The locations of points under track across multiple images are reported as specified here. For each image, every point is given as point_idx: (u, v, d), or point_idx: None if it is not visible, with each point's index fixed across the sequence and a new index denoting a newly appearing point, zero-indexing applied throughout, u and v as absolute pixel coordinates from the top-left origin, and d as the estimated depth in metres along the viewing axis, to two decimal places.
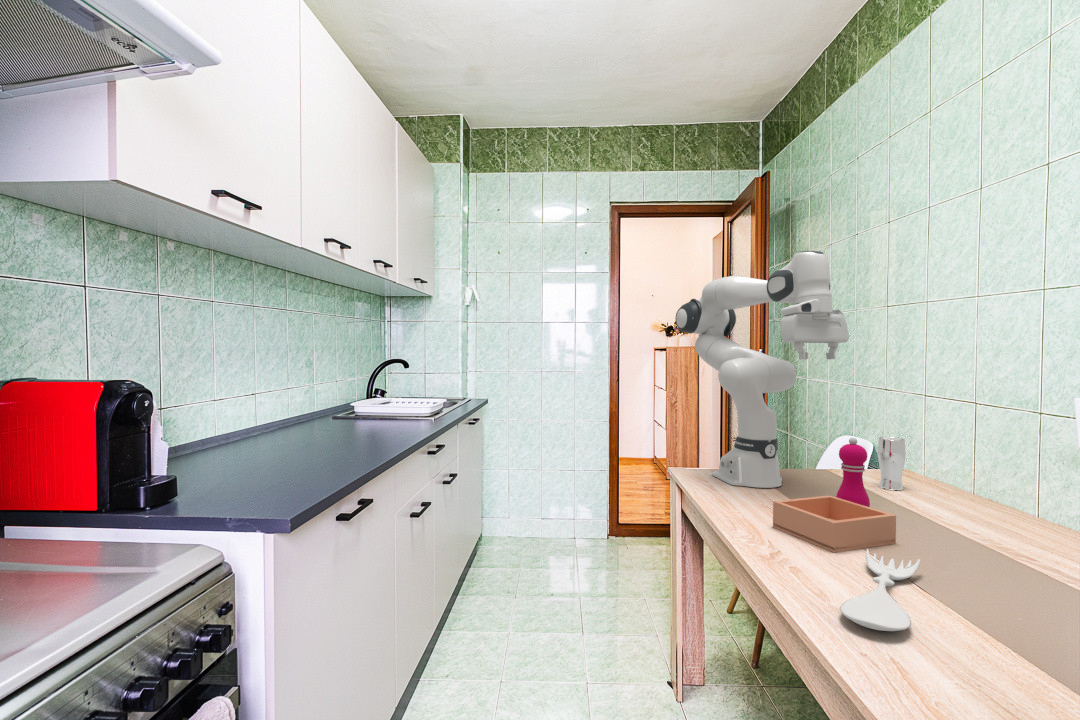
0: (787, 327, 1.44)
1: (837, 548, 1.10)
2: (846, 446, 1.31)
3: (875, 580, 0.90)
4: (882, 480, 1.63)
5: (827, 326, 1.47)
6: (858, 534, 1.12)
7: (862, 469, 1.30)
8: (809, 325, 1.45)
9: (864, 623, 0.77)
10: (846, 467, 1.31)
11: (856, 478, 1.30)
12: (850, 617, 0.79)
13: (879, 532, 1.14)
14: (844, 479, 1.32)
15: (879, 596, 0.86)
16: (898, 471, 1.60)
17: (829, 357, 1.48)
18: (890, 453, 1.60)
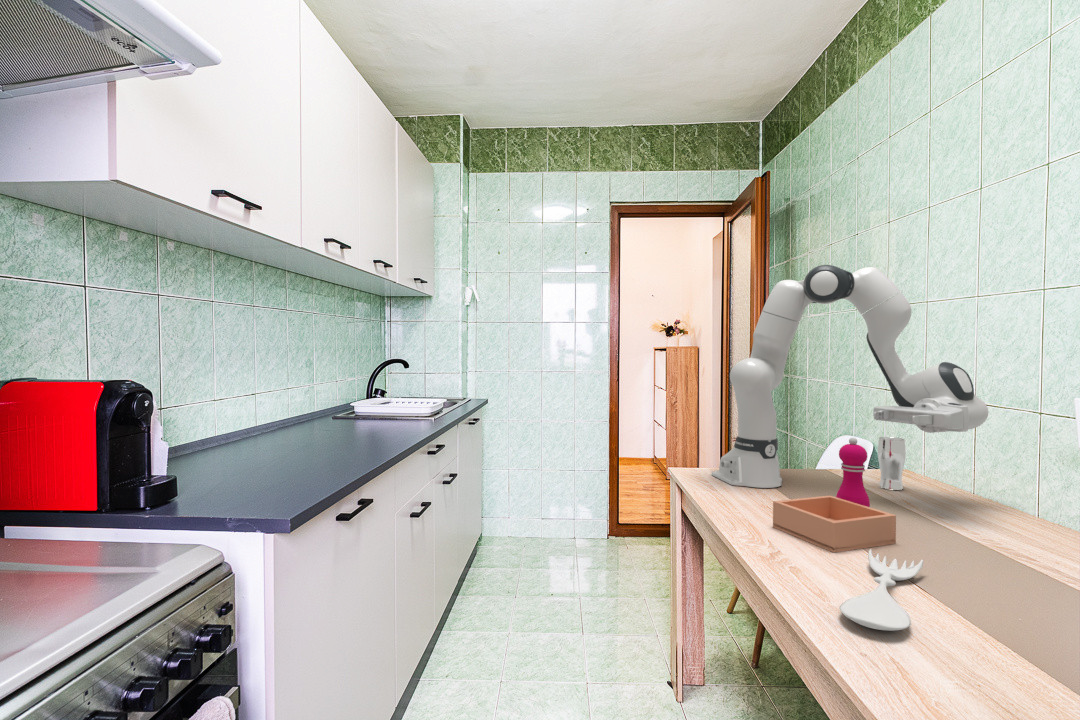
0: (957, 422, 1.29)
1: (837, 548, 1.10)
2: (846, 446, 1.31)
3: (876, 580, 0.90)
4: (882, 480, 1.63)
5: None
6: (858, 534, 1.12)
7: (862, 469, 1.30)
8: None
9: (863, 623, 0.78)
10: (846, 467, 1.31)
11: (856, 478, 1.30)
12: (849, 616, 0.79)
13: (879, 532, 1.14)
14: (844, 479, 1.32)
15: (880, 596, 0.86)
16: (898, 471, 1.60)
17: (879, 416, 1.40)
18: (890, 453, 1.60)
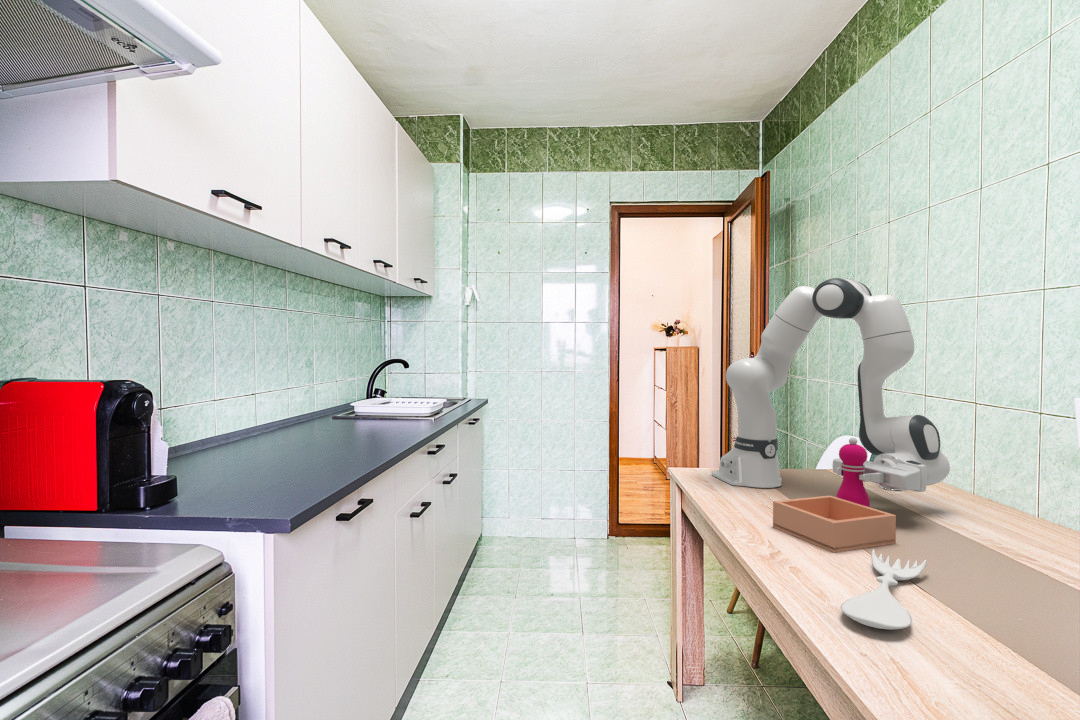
0: (914, 484, 1.25)
1: (837, 548, 1.10)
2: (846, 446, 1.31)
3: (878, 579, 0.90)
4: None
5: None
6: (858, 534, 1.12)
7: (862, 469, 1.30)
8: None
9: (863, 621, 0.78)
10: (846, 467, 1.31)
11: (856, 478, 1.30)
12: (850, 615, 0.80)
13: (879, 532, 1.14)
14: (844, 479, 1.32)
15: (881, 595, 0.86)
16: None
17: (842, 473, 1.34)
18: None
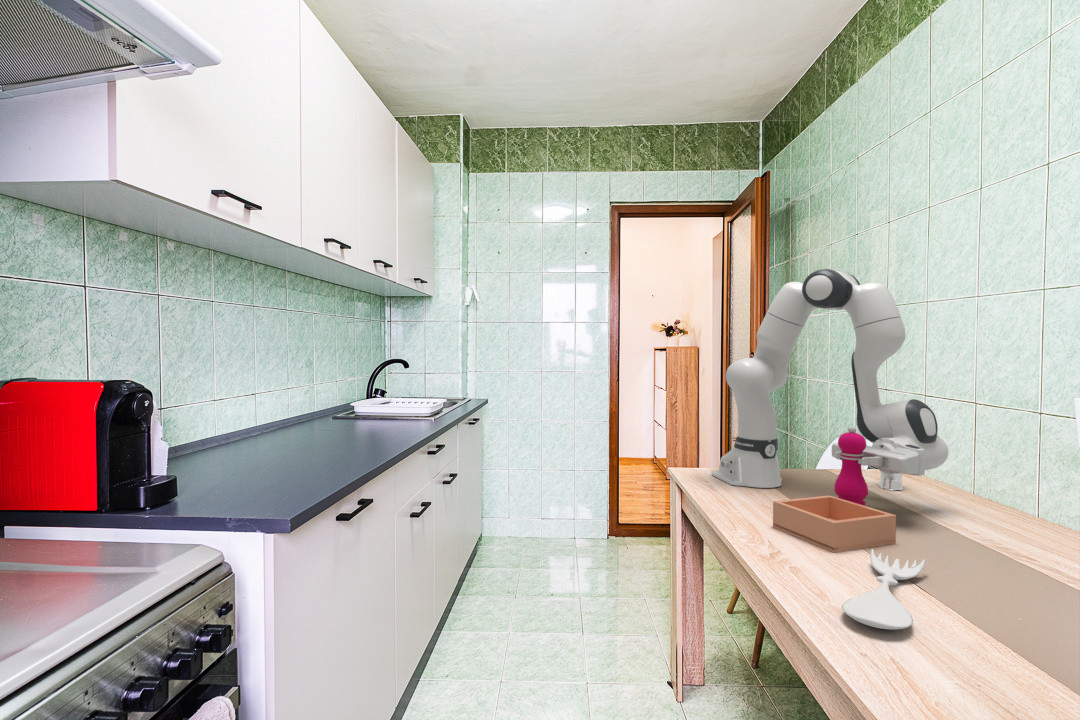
0: (913, 467, 1.25)
1: (837, 548, 1.10)
2: (845, 434, 1.31)
3: (878, 579, 0.90)
4: (882, 480, 1.63)
5: None
6: (858, 534, 1.12)
7: None
8: None
9: (865, 621, 0.78)
10: (845, 455, 1.31)
11: (855, 467, 1.30)
12: (851, 615, 0.80)
13: (879, 532, 1.14)
14: (843, 467, 1.32)
15: (882, 595, 0.86)
16: None
17: None
18: None
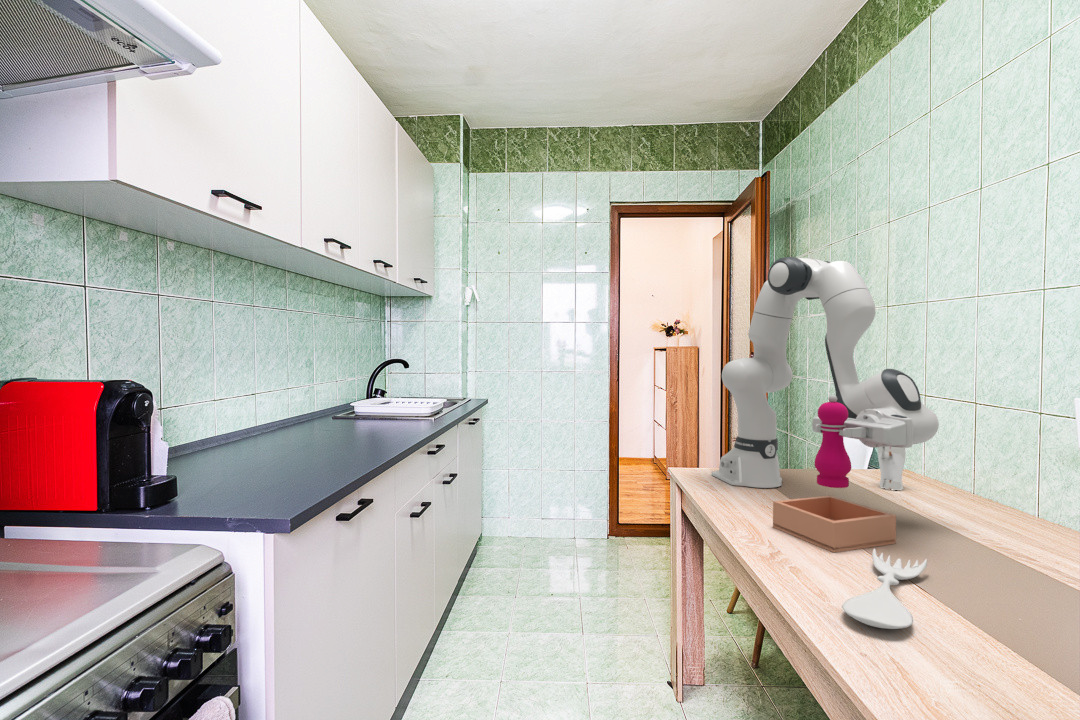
0: (899, 437, 1.14)
1: (837, 548, 1.10)
2: (825, 404, 1.20)
3: (879, 579, 0.91)
4: (882, 480, 1.63)
5: None
6: (858, 534, 1.12)
7: None
8: None
9: (865, 621, 0.78)
10: (825, 427, 1.19)
11: (836, 439, 1.19)
12: (851, 614, 0.80)
13: (879, 532, 1.14)
14: (823, 440, 1.21)
15: (882, 595, 0.86)
16: (898, 471, 1.60)
17: None
18: (890, 453, 1.60)
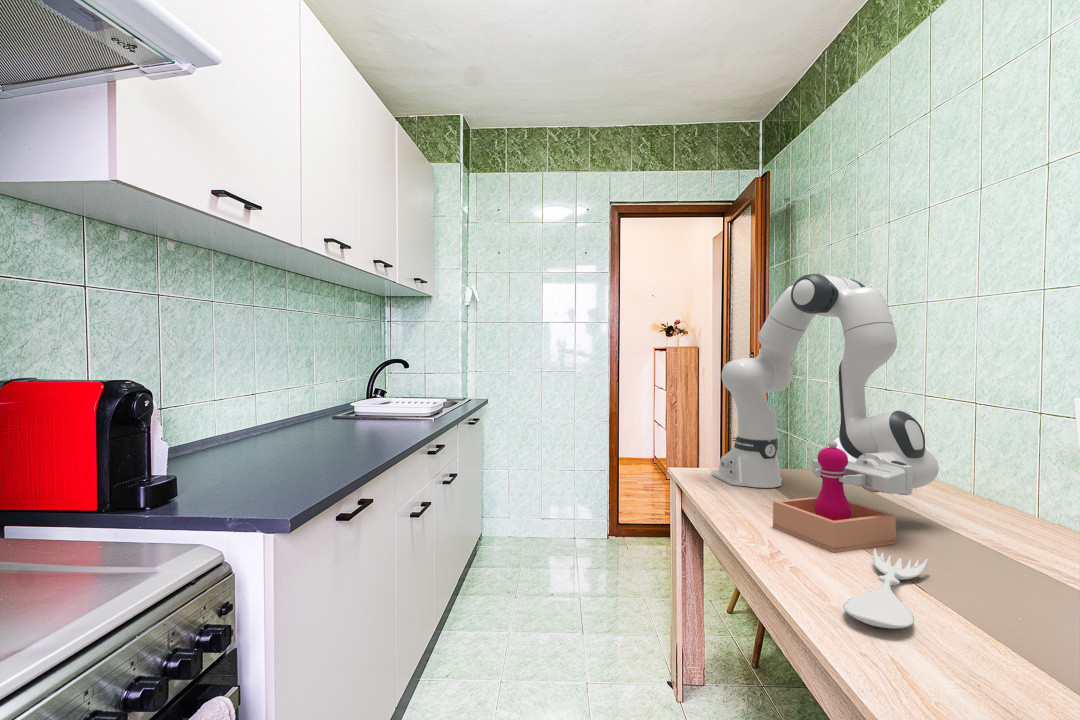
0: (899, 486, 1.14)
1: (837, 548, 1.10)
2: (825, 450, 1.20)
3: (880, 579, 0.91)
4: None
5: None
6: (858, 534, 1.12)
7: None
8: None
9: (866, 620, 0.78)
10: (825, 473, 1.20)
11: (836, 485, 1.19)
12: (853, 614, 0.80)
13: (879, 532, 1.14)
14: (823, 486, 1.21)
15: (883, 594, 0.86)
16: None
17: None
18: None
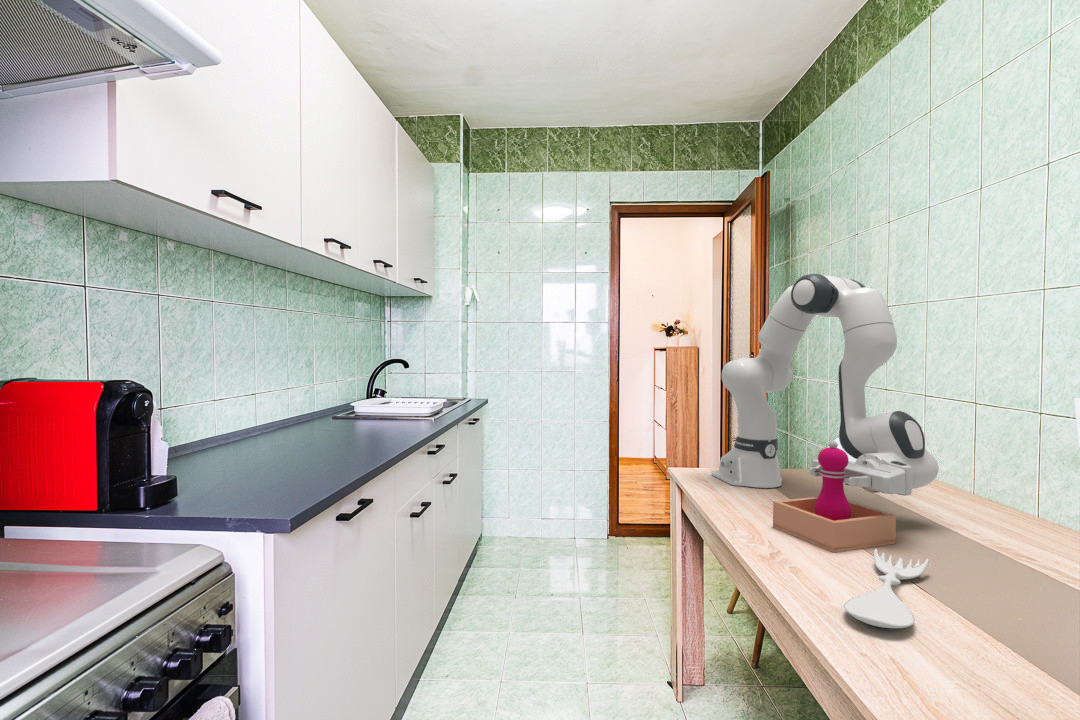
0: (898, 487, 1.14)
1: (837, 548, 1.10)
2: (825, 450, 1.20)
3: (881, 579, 0.91)
4: None
5: None
6: (858, 534, 1.12)
7: (843, 475, 1.19)
8: None
9: (866, 620, 0.78)
10: (825, 473, 1.20)
11: (836, 485, 1.19)
12: (853, 614, 0.80)
13: (879, 532, 1.14)
14: (823, 486, 1.21)
15: (884, 594, 0.86)
16: None
17: (816, 473, 1.24)
18: None
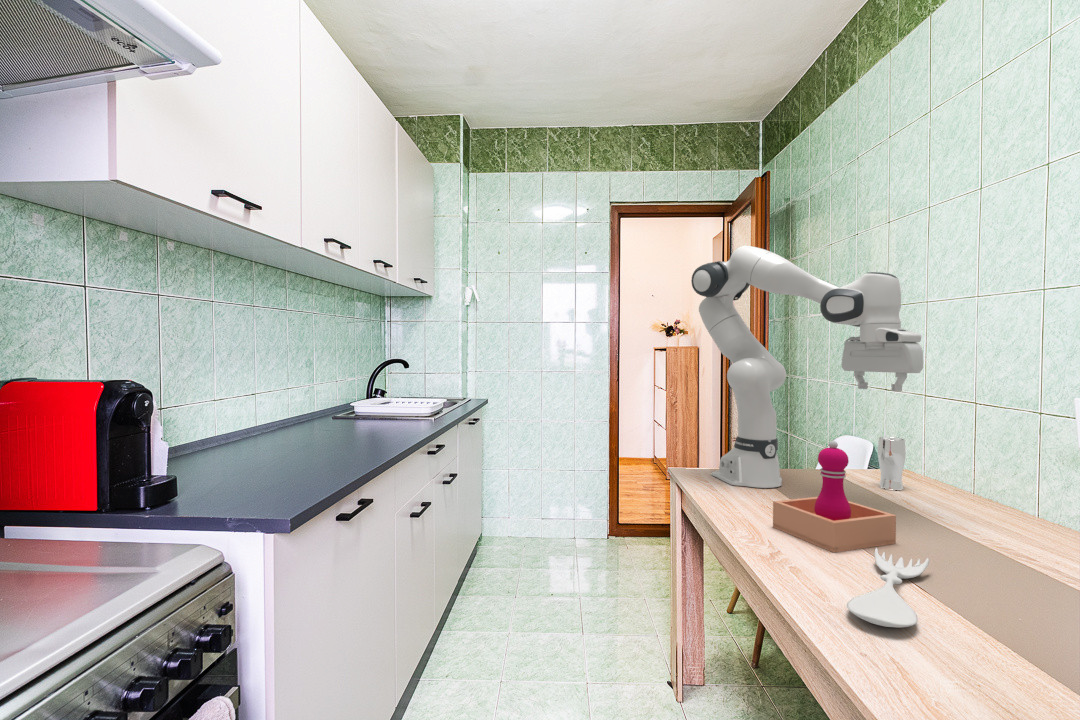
0: (919, 357, 1.29)
1: (837, 548, 1.10)
2: (825, 450, 1.20)
3: (883, 578, 0.91)
4: (882, 480, 1.63)
5: None
6: (858, 534, 1.12)
7: (843, 475, 1.19)
8: None
9: (870, 620, 0.78)
10: (825, 473, 1.20)
11: (836, 485, 1.19)
12: (857, 613, 0.80)
13: (879, 532, 1.14)
14: (823, 486, 1.21)
15: (886, 593, 0.87)
16: (898, 471, 1.60)
17: (865, 387, 1.42)
18: (890, 453, 1.60)
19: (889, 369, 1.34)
